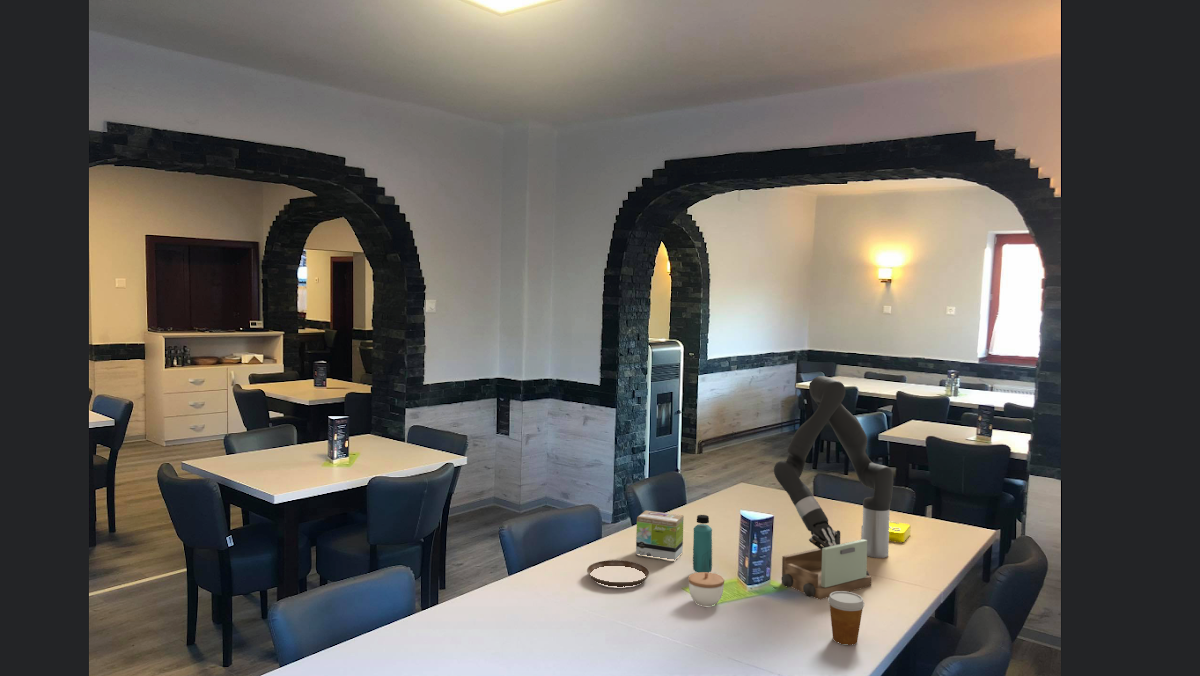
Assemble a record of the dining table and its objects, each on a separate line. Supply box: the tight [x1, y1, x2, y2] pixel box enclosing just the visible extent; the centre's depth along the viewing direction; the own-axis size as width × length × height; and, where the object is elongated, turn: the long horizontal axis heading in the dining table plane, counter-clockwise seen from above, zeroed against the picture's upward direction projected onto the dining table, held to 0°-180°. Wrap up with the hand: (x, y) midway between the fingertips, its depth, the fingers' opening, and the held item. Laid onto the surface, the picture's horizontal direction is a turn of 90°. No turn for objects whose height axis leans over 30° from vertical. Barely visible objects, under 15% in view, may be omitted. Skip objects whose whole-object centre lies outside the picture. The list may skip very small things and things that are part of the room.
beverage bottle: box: [692, 514, 713, 573], centre depth 256 cm, size 6×7×20 cm
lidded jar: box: [688, 572, 725, 607], centre depth 231 cm, size 11×11×9 cm
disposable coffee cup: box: [827, 591, 865, 646], centre depth 207 cm, size 10×10×12 cm
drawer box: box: [781, 547, 872, 600], centre depth 248 cm, size 16×26×9 cm, turn 121°
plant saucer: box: [586, 559, 650, 587], centre depth 251 cm, size 21×21×3 cm
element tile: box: [889, 520, 911, 543], centre depth 304 cm, size 15×15×5 cm
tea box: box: [635, 509, 684, 560], centre depth 275 cm, size 15×10×15 cm, turn 68°
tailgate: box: [821, 539, 868, 588], centre depth 242 cm, size 2×19×12 cm, turn 121°
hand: (839, 560), depth 244 cm, fingers closed
